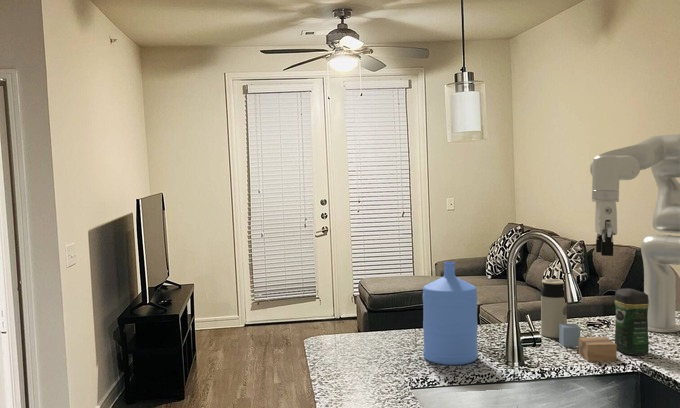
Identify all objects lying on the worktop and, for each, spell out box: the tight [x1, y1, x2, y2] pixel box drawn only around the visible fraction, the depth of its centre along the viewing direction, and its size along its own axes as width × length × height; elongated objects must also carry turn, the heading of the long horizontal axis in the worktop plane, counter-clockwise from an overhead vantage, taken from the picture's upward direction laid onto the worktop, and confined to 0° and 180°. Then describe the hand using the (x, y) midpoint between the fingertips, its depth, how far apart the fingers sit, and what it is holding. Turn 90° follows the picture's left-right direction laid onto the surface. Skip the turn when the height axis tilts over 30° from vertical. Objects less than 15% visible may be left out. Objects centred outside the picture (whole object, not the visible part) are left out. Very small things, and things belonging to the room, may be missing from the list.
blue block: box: [558, 323, 581, 348], centre depth 204 cm, size 5×5×6 cm
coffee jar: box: [614, 287, 650, 356], centre depth 195 cm, size 10×8×19 cm
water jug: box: [422, 261, 479, 366], centre depth 191 cm, size 16×16×28 cm
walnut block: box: [578, 336, 618, 362], centre depth 190 cm, size 8×8×5 cm
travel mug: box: [540, 278, 568, 339], centre depth 215 cm, size 8×8×18 cm
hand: (604, 254), depth 198 cm, fingers open, 9 cm apart
